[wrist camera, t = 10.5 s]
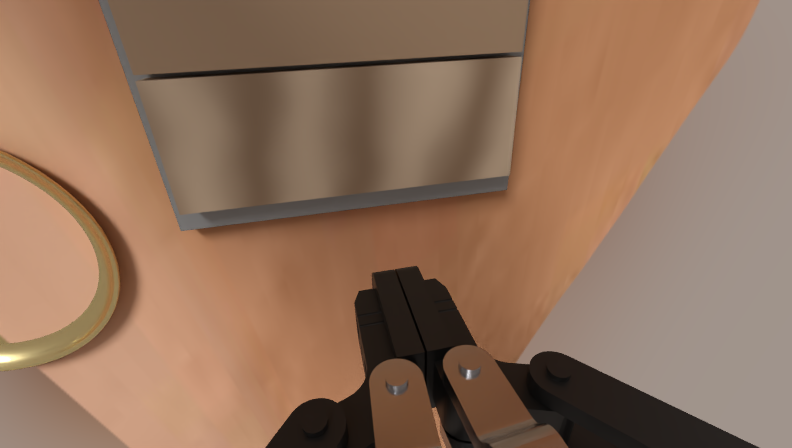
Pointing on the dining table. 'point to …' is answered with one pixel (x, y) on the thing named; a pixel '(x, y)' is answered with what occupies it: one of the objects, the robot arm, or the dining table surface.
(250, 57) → the panel
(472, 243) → the dining table surface
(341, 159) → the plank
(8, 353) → the serving platter
